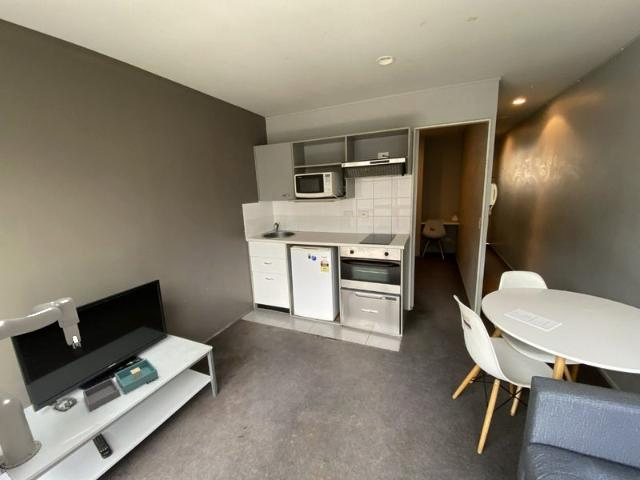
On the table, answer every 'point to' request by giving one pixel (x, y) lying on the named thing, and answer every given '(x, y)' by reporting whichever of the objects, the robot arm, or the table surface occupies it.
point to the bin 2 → (148, 376)
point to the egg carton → (65, 403)
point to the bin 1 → (101, 394)
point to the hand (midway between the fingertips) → (77, 350)
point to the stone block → (136, 373)
